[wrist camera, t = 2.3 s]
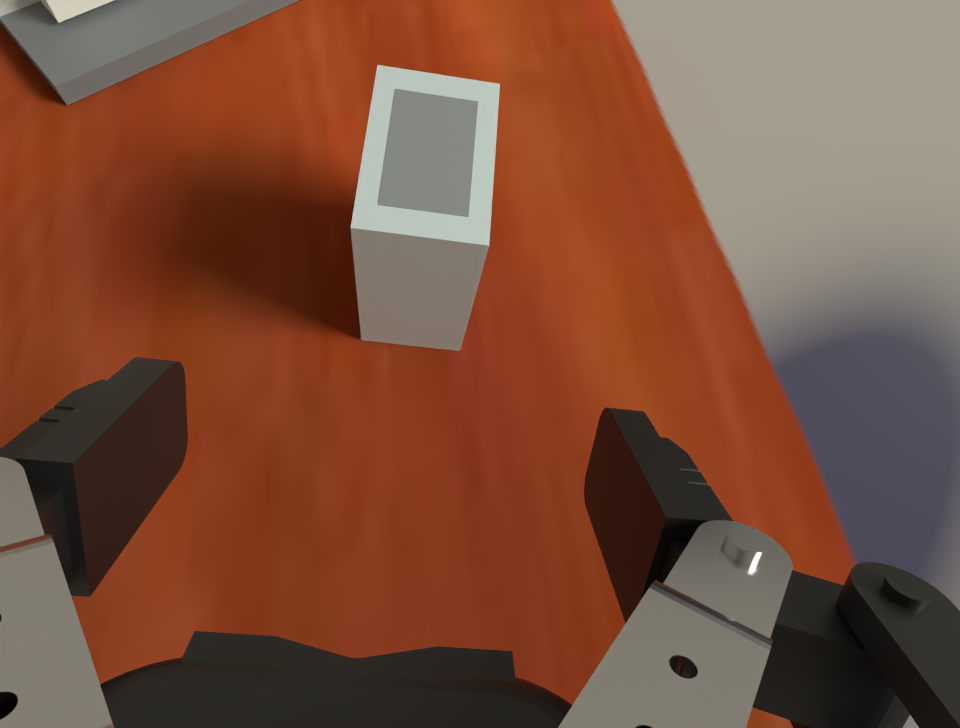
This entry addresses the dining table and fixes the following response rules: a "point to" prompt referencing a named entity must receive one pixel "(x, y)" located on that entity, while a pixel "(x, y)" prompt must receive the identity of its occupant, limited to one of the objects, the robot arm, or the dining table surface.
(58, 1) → the module
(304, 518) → the dining table surface
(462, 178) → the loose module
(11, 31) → the mounting board
